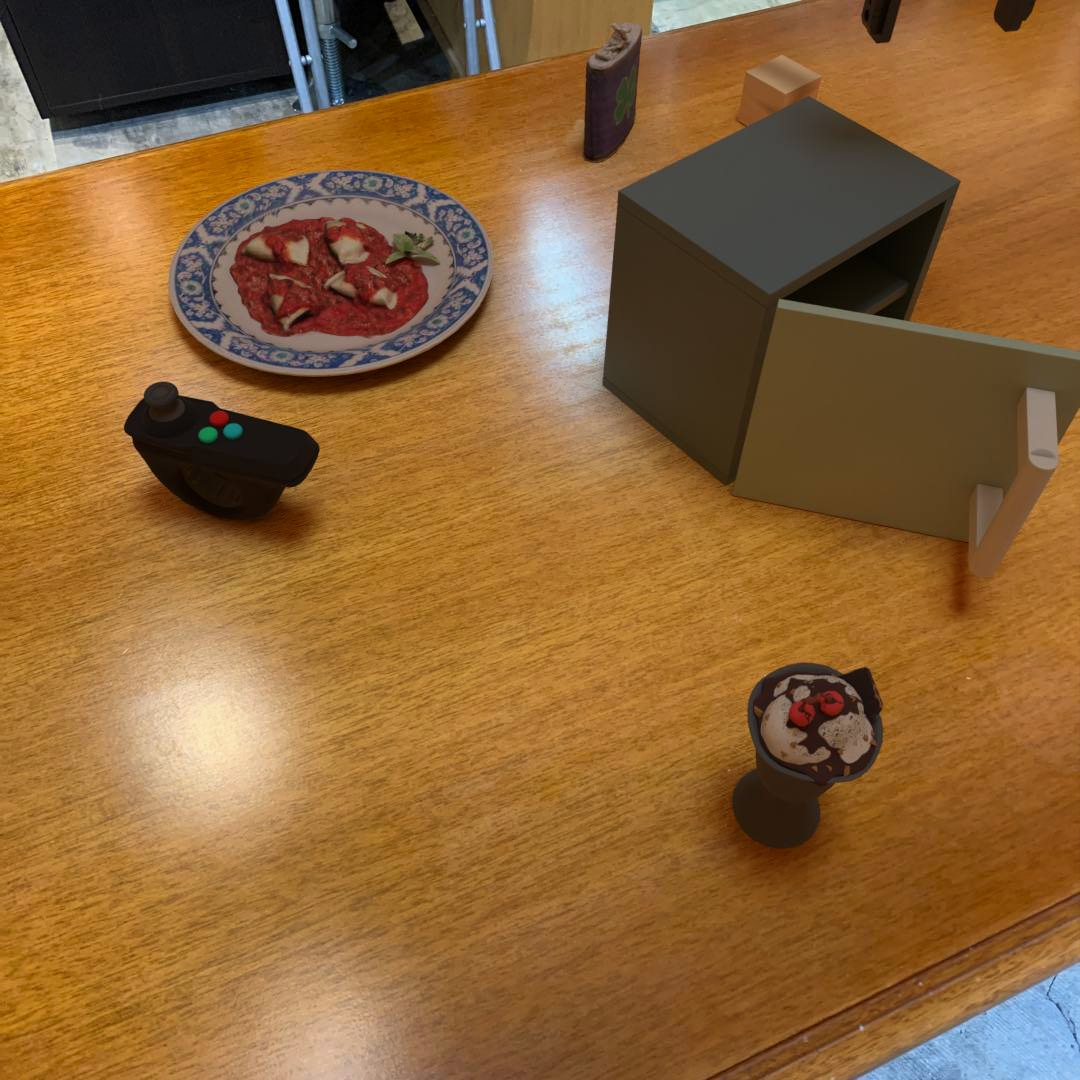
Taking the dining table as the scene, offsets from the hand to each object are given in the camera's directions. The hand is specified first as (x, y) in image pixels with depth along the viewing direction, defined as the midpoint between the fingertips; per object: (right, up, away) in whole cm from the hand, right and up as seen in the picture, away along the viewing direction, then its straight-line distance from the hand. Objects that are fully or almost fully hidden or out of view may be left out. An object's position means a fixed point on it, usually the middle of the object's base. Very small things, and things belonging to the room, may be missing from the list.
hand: (941, 31), depth 67 cm
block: (-2, +9, +37) cm, 38 cm away
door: (-4, -32, +5) cm, 33 cm away
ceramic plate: (-42, -11, +21) cm, 48 cm away
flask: (-18, +6, +35) cm, 40 cm away
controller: (-45, -30, +7) cm, 54 cm away
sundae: (-12, -47, -6) cm, 49 cm away
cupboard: (-9, -20, +15) cm, 26 cm away
